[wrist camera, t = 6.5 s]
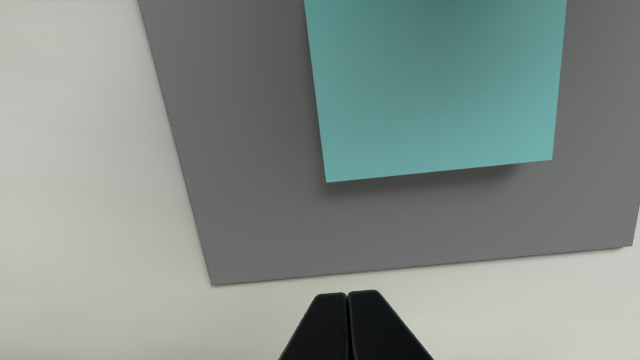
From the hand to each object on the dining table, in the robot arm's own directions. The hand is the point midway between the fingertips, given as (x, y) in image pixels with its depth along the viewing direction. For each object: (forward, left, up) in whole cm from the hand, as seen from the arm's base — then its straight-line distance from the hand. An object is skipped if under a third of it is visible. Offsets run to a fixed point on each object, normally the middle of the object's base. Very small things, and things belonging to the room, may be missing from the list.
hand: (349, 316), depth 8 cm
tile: (0, 0, -11) cm, 11 cm away
